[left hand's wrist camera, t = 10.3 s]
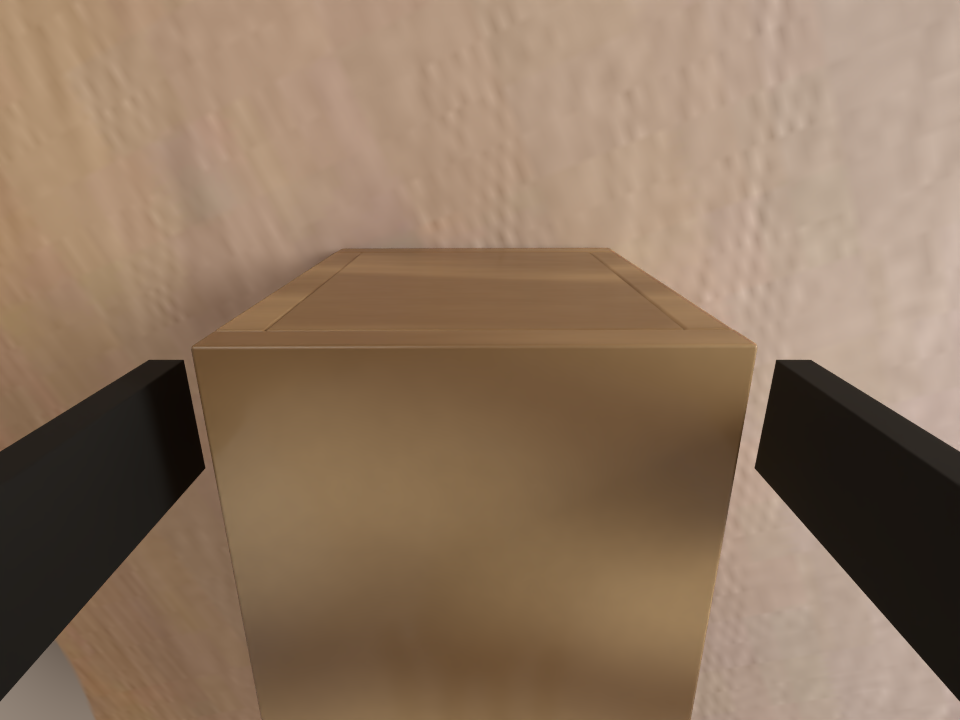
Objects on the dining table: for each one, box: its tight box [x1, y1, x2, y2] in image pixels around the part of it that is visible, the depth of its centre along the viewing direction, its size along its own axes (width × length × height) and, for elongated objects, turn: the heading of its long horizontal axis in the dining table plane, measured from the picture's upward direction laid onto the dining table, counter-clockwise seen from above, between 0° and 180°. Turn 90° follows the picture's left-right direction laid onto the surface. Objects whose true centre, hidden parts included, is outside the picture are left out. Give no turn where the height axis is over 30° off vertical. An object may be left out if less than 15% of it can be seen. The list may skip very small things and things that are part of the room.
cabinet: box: [191, 248, 757, 720], centre depth 18 cm, size 16×10×12 cm, turn 0°
